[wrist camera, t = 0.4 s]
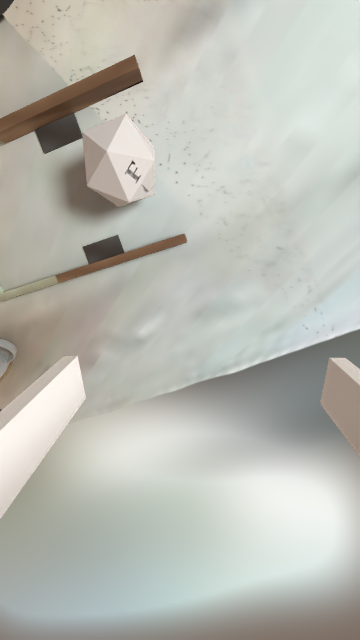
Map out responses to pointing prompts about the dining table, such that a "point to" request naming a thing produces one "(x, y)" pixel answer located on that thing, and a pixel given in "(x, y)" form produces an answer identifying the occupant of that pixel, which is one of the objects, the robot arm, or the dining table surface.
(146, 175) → the die
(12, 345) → the ceramic mug
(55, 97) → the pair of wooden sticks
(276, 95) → the dining table surface
